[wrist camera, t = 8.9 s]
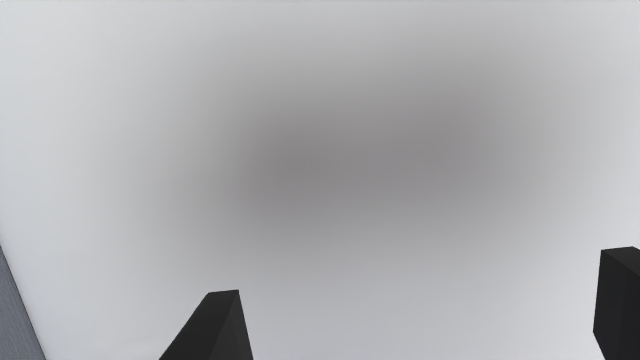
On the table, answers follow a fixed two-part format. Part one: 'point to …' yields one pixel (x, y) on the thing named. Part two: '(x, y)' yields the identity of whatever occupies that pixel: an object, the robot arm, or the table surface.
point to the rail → (15, 322)
